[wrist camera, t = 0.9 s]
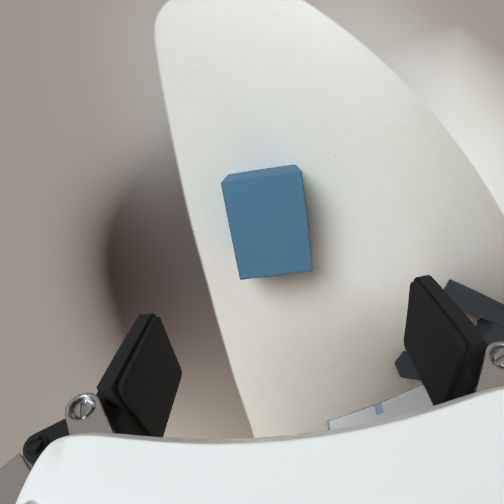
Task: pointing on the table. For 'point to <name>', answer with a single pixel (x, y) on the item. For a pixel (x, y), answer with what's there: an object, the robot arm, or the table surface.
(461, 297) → the dark grey u-frame
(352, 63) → the table surface
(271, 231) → the blue rectangular block
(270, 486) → the robot arm
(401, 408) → the warehouse
